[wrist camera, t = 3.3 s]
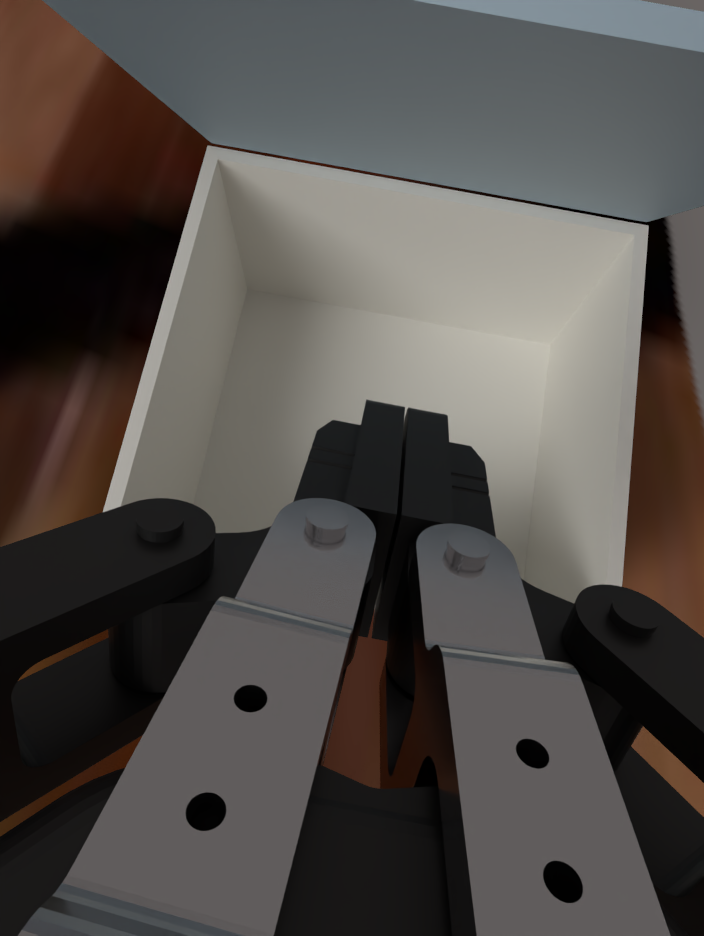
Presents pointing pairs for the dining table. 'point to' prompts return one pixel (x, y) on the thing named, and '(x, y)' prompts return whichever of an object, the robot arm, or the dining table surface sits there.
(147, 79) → the lid flap
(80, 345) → the dining table surface
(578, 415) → the carton
